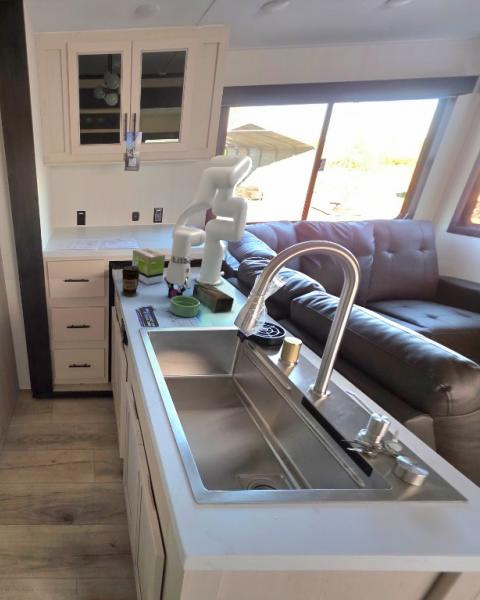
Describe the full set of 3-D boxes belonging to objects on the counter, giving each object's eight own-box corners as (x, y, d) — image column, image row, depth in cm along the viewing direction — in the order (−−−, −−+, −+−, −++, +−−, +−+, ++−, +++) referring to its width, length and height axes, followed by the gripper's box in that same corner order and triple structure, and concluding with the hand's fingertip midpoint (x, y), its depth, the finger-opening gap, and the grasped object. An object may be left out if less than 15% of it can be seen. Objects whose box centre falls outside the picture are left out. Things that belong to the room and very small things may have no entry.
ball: (174, 295, 146) (175, 286, 145) (181, 298, 143) (183, 289, 141) (167, 297, 144) (168, 288, 142) (175, 300, 141) (176, 291, 139)
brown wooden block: (207, 294, 147) (209, 281, 145) (232, 312, 130) (235, 297, 128) (191, 295, 146) (193, 282, 143) (215, 313, 129) (217, 299, 126)
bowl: (182, 304, 138) (183, 293, 135) (203, 313, 129) (205, 302, 127) (163, 310, 132) (165, 299, 130) (185, 320, 123) (186, 309, 121)
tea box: (130, 276, 171) (132, 249, 165) (145, 273, 175) (148, 247, 169) (147, 285, 159) (149, 256, 153) (163, 282, 163) (166, 254, 157)
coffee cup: (138, 298, 144) (140, 271, 138) (120, 296, 145) (121, 270, 140) (138, 291, 152) (141, 265, 146) (121, 289, 153) (123, 264, 148)
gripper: (201, 262, 132) (195, 302, 139) (171, 253, 145) (166, 290, 152) (189, 265, 128) (183, 306, 135) (159, 256, 141) (155, 293, 148)
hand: (174, 297), depth 143 cm, fingers closed on ball, 4 cm apart
